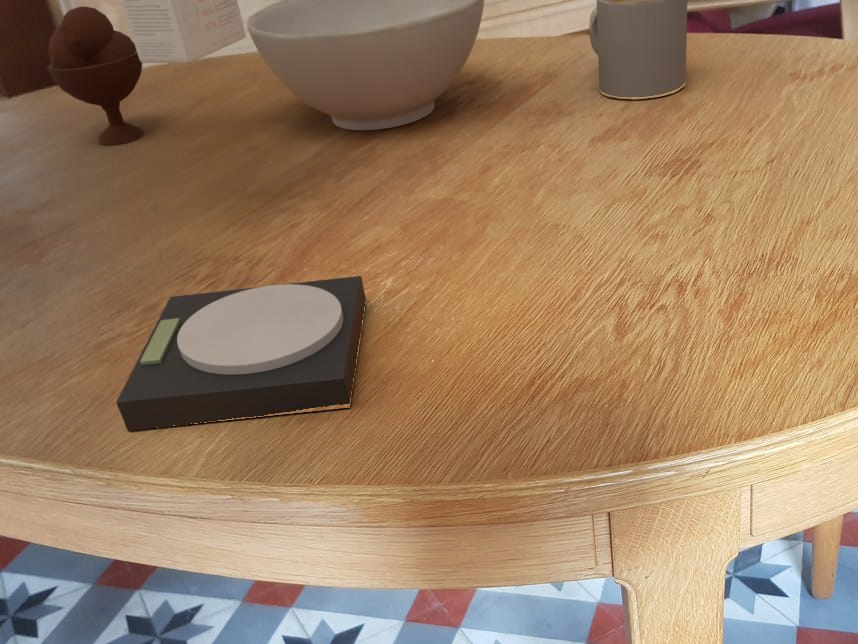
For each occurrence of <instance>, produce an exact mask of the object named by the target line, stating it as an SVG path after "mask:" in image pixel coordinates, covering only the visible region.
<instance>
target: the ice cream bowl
mask: <svg viewBox="0 0 858 644" xmlns="http://www.w3.org/2000/svg"><path fill="white" fill-rule="evenodd" d="M47 50H48V56H49V60H50V62H49V64H48V65H47V67H46V70H47V71H48V74H49V75H50V77H51V78H52V80H53V82H54V83H55V84H56V86H58V87H59V88H60V89H61V91H63V92H65V94H67V95H69V96H71V97H72V98H74V99H76V100H79V101H81V102H83V103H86V104H89V105H94V106H100V107H101V108H102V110H103V111H104V113H105V114H106V118H107V121H108V126H107V127H106V128H105V129H104V130H103V131H102V132H101V134H100V135H99V138H98V144H100V145H104V146H119V145H123V144H127V143H130V142H134V141H136V140H138V139H140V138H141V137H143V136H144V133H145V132H144V130H143V129H142V127H140V126H137V125H134V124H131V123H128V122H126V121H124V118H123V115H122V112H121V110H120V108H121V107H120V106H121V102H123V100H125V99H127V98H128V97H129V96H130V94H131V93H133V91H134V90H135V89H136V86H137V84H138V82H139V80H140V77H141V75H142V71H143V63H142V62H141V61H140V60H139V57H138V53H137V50H136V47H135V44H134V41H133V39H131V37H130V36H129V35H127V34H125V33H123V32H122V31H118V30H114V25H113V24H112V22H111V20H110V19H109V18H108V16H107V15H106V14H104V13H103V12H101V11H100V10H99V9H97V8H95V7H90V6H87V5H85V6H77V7H74V8H71V9H69V10H68V11H67V12H66V13H65V14H64V16H63V18H62V20H61V23H60V24H59V26H58V27H56V29H55V30H54V31H53V33H52V34H51V36H50V37H49V44H48V49H47Z"/></svg>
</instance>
